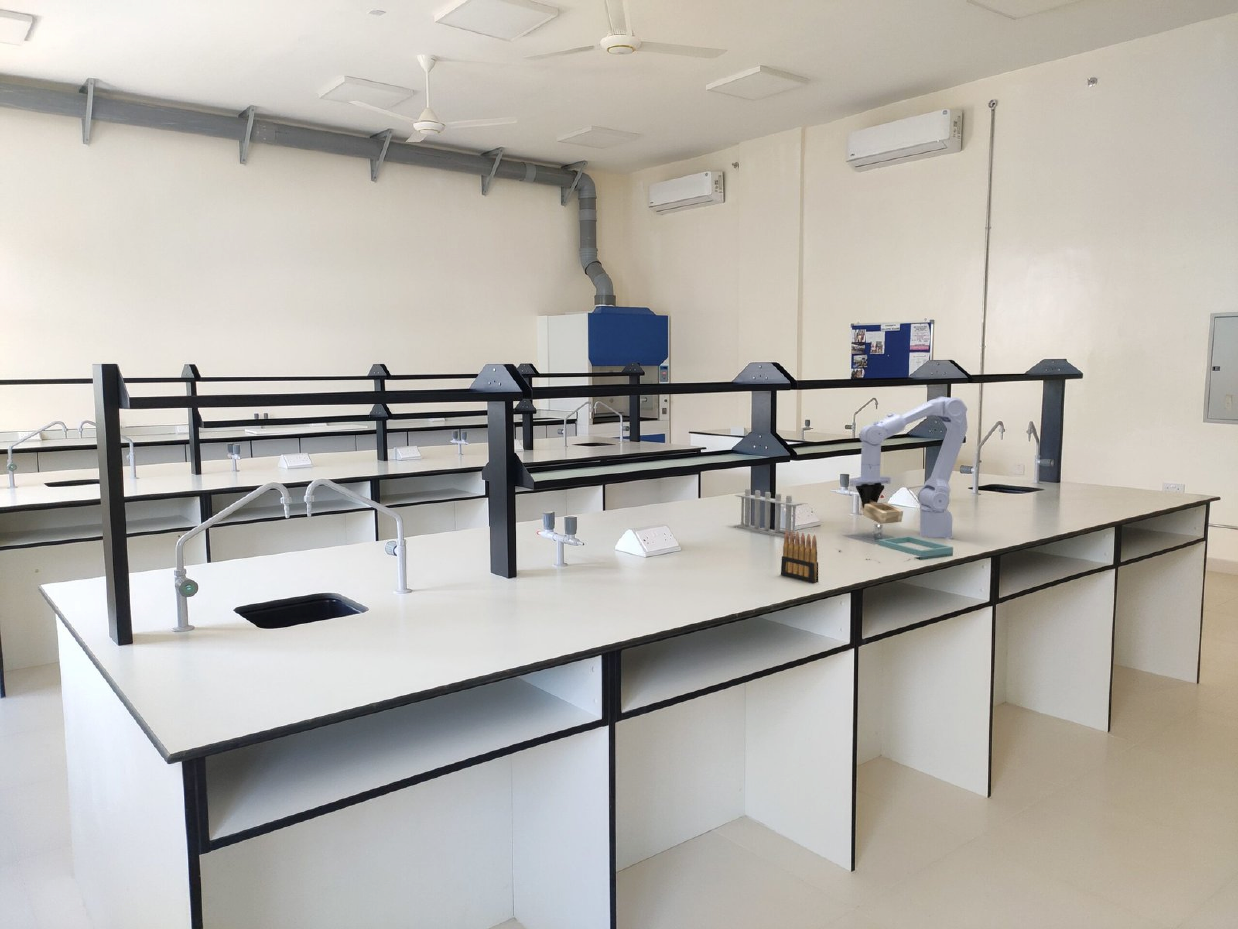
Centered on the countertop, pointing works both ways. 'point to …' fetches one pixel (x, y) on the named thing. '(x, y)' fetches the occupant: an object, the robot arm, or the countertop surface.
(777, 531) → the test tube rack
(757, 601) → the countertop surface
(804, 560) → the ammunition clip
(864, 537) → the board
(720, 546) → the countertop surface
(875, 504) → the maple collar
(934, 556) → the tray
